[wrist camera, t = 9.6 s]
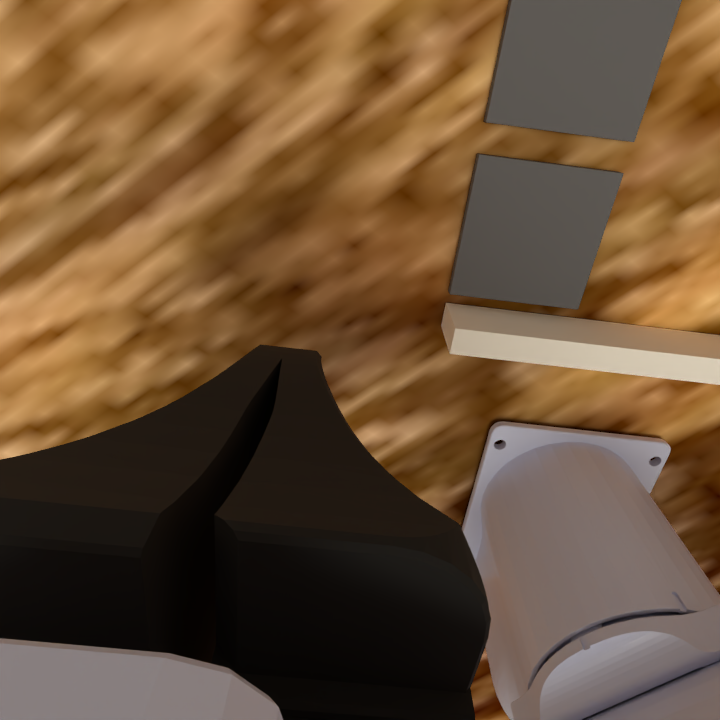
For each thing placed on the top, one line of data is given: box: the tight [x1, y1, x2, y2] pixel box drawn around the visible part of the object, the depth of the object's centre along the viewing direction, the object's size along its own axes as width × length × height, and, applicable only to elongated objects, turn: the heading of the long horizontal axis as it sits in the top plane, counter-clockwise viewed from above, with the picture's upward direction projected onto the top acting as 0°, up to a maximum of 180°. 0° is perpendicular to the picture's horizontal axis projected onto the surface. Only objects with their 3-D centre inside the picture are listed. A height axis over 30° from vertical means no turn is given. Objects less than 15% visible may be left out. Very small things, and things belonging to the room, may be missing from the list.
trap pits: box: [448, 0, 682, 309], centre depth 18 cm, size 11×5×1 cm, turn 173°
